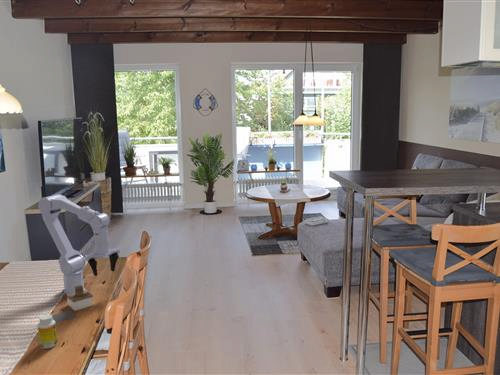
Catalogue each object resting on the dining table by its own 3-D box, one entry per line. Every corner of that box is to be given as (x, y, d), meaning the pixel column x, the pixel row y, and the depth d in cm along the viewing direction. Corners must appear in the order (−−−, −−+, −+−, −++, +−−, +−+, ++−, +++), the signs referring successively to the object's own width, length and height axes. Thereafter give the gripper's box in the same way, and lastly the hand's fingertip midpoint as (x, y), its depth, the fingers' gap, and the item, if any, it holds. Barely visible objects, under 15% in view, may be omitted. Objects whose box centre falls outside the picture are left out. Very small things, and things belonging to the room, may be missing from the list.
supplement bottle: (58, 346, 154) (55, 318, 152) (40, 350, 151) (36, 322, 150) (57, 339, 159) (54, 312, 157) (39, 343, 156) (36, 315, 155)
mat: (48, 316, 177) (48, 316, 177) (69, 310, 182) (69, 310, 182) (55, 323, 171) (55, 323, 171) (76, 317, 176) (76, 316, 176)
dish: (67, 305, 187) (67, 296, 186) (85, 300, 191) (85, 291, 191) (74, 311, 181) (73, 302, 180) (92, 306, 186) (92, 296, 185)
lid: (66, 296, 186) (65, 286, 185) (85, 291, 191) (84, 281, 190) (73, 302, 180) (72, 291, 179) (92, 296, 185) (92, 286, 184)
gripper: (88, 247, 184) (91, 279, 186) (122, 240, 193) (124, 271, 196) (81, 244, 189) (84, 275, 192) (114, 237, 199) (117, 267, 201)
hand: (104, 273), depth 194 cm, fingers open, 7 cm apart
